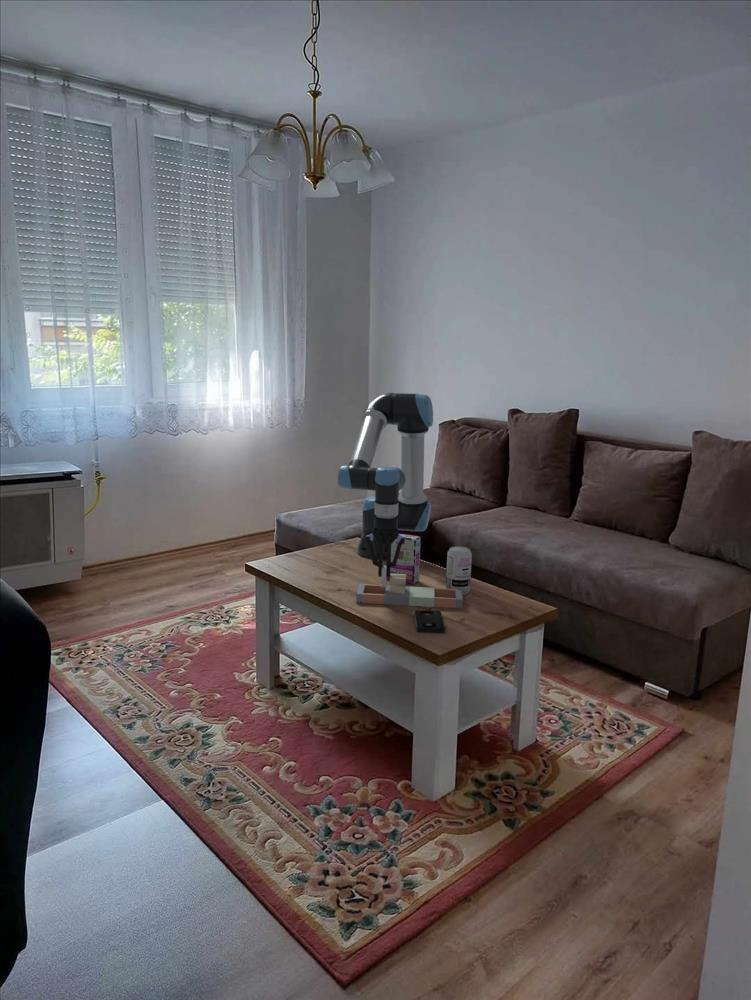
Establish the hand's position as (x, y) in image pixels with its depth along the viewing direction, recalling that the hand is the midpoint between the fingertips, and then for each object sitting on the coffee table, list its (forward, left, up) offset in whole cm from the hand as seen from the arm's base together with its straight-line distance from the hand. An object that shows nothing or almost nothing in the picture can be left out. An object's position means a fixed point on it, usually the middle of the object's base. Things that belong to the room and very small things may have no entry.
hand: (383, 585), depth 235 cm
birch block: (0, +5, -1) cm, 5 cm away
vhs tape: (+19, +15, -5) cm, 25 cm away
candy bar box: (-20, +5, -5) cm, 21 cm away
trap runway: (0, +9, -4) cm, 10 cm away
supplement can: (-11, +25, -5) cm, 27 cm away
